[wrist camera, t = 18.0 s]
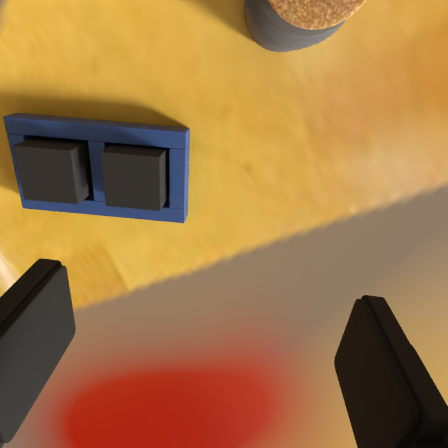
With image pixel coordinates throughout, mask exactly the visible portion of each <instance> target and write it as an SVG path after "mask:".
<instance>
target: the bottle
mask: <svg viewBox="0 0 448 448" xmlns="http://www.w3.org/2000/svg"><path fill="white" fill-rule="evenodd" d="M365 1H366V0H244V12H245V21H246V25H247V28H248V30H249V32H250V34H251V36H252V37H253V39H254V40H255V41H256V42H257V43H258V44H259V45H260V46H262V47H263V48H265V49H267V50H270V51H274V52H286V51H292V50H298V49H302V48H306V47H310V46H313V45H315V44H318V43H320V42H322V41H324V40H325V39H327V38H328V37H329V36H331V35H332V34H333V33H335V32H336V31H337V30H338V29H339V28H340V27H341V26H342V24H343V23H344V22H345V21H346V20H347V19H348V18H349V17H350V16H351V15H352V14H354V13H355V12H356V11H357V10H358V9H359V8H360V7H361V6H362V5H363V4H364V3H365Z"/></svg>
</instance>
